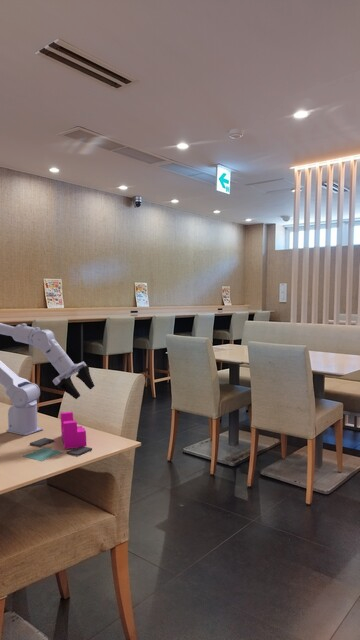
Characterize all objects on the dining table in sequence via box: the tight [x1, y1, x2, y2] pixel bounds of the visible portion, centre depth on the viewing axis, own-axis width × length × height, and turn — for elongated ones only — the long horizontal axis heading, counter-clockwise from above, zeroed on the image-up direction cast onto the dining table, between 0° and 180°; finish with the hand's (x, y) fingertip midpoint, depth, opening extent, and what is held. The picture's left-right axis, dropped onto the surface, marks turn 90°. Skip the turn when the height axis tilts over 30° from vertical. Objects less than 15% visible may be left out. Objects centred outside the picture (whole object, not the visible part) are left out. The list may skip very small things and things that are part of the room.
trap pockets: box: [29, 437, 93, 457], centre depth 139 cm, size 20×6×1 cm, turn 59°
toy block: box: [60, 411, 87, 450], centre depth 144 cm, size 15×6×8 cm, turn 18°
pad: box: [22, 446, 64, 462], centre depth 133 cm, size 8×8×1 cm
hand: (85, 392), depth 151 cm, fingers open, 7 cm apart
